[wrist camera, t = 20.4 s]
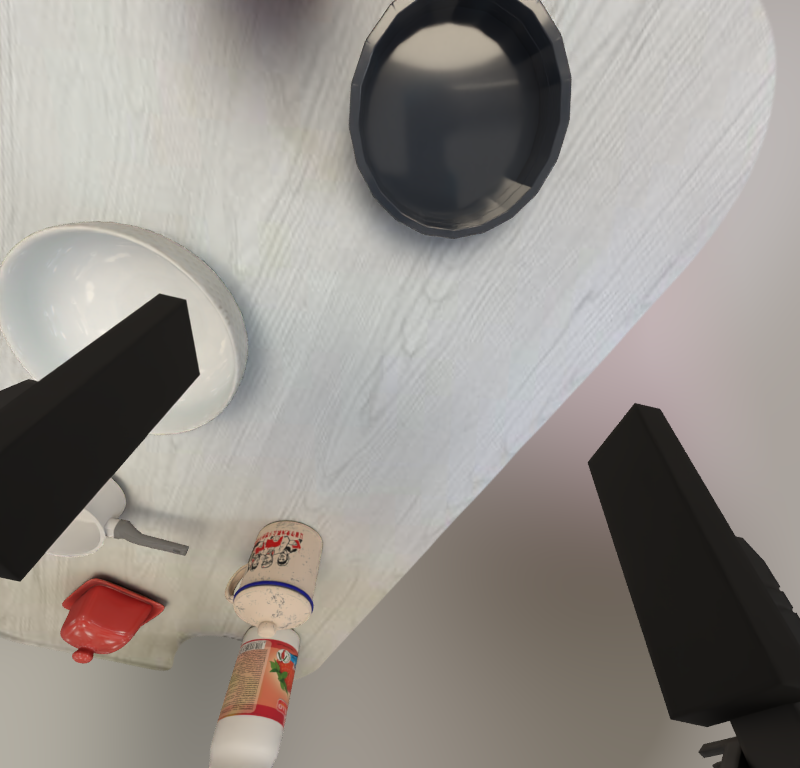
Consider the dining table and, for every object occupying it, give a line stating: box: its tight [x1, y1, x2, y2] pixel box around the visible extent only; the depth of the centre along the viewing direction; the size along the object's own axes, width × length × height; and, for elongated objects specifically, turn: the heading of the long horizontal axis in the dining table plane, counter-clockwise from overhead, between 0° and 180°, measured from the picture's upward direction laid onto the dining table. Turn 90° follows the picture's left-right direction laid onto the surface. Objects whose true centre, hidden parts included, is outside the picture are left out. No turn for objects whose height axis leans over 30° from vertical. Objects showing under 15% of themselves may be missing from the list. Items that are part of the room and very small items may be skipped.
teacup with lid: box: [225, 521, 323, 638], centre depth 47 cm, size 12×9×12 cm
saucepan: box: [45, 478, 189, 557], centre depth 45 cm, size 12×20×6 cm, turn 69°
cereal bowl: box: [0, 221, 248, 435], centre depth 31 cm, size 17×17×7 cm
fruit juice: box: [208, 626, 300, 768], centre depth 54 cm, size 9×9×28 cm
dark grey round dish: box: [349, 0, 571, 239], centre depth 25 cm, size 13×13×4 cm
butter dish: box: [60, 578, 164, 663], centre depth 56 cm, size 12×12×8 cm
